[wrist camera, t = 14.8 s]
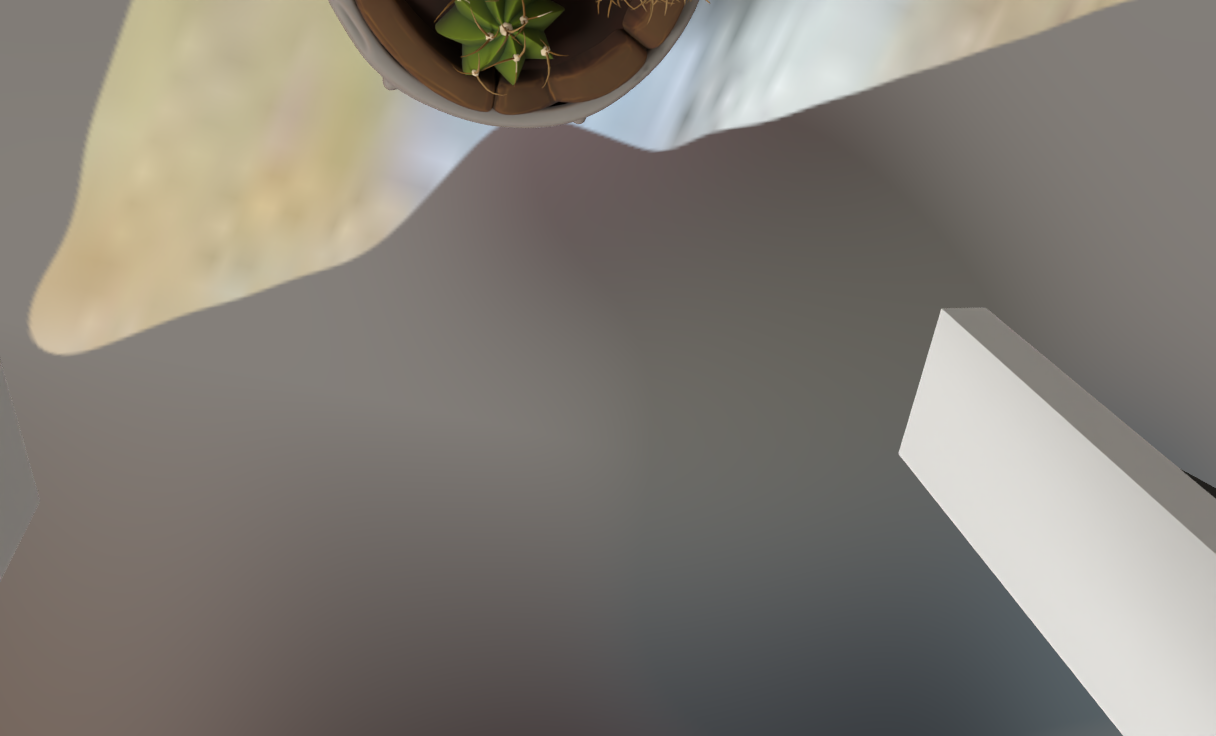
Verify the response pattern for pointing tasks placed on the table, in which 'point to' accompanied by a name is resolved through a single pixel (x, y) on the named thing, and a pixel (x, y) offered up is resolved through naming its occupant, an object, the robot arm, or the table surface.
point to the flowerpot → (514, 53)
